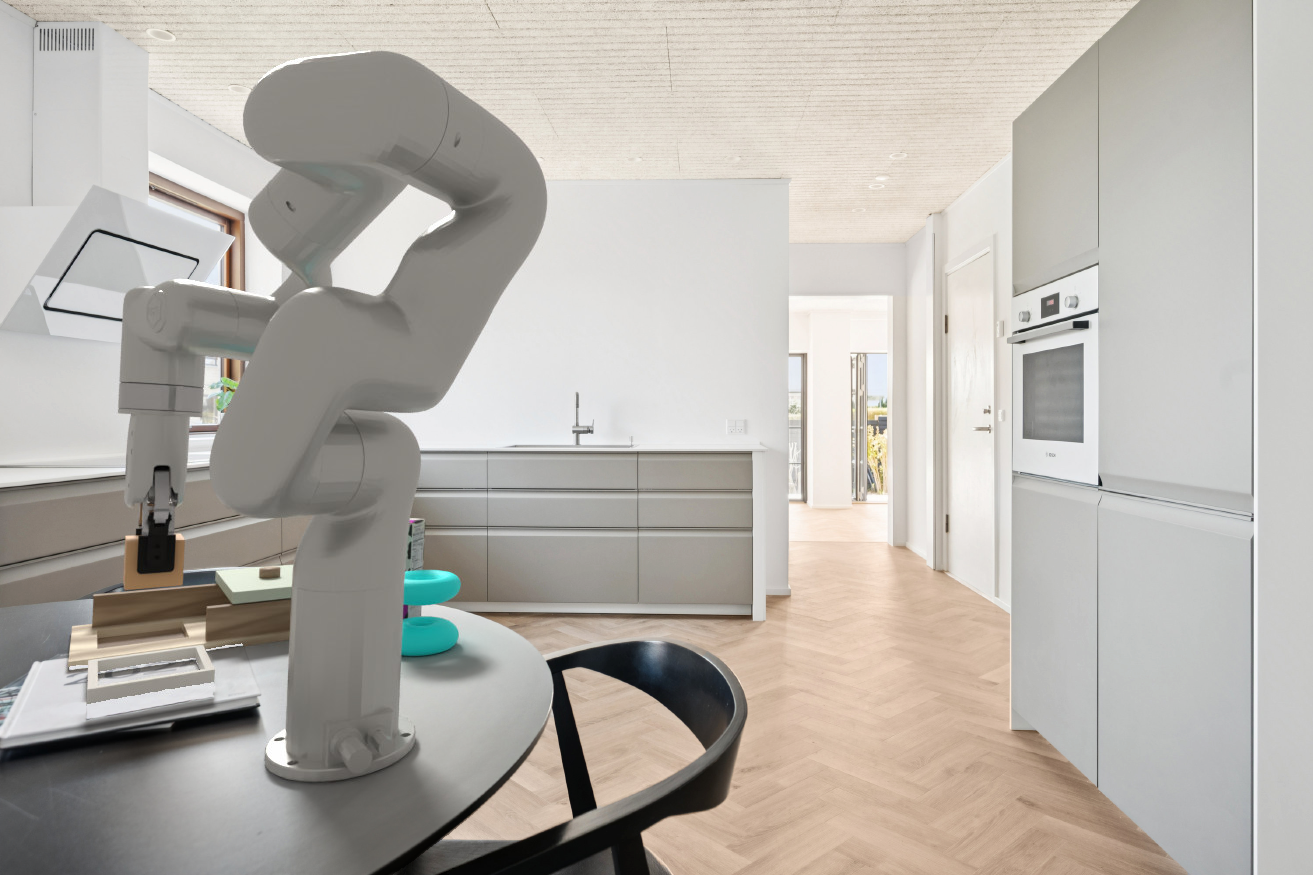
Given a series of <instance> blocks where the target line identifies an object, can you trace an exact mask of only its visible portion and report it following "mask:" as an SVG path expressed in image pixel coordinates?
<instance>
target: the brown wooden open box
mask: <svg viewBox="0 0 1313 875" xmlns="http://www.w3.org/2000/svg"><path fill="white" fill-rule="evenodd" d="M92 596H93V597H92V598H93V599H92V617H91V618H92V621H91V624H80V625H79V624H78V625H72V626H71V636H70V644H69V653H68V661H67V662H68V663H67V664H68V665H67V668H68V667H70V666H76V665H88V660H93V659H100V658H108V657H115V656H122V655H130V654H137V653H144V652H152V651H159V650H166V649H174V648H181V647H188V646H196V645H203V646H204V648H205V650H206V649H211V648H216V647H222V646H225V645H235V644H241V643H242V644H243V647H249V646H255V645H262V644H263V645H264V644H270V643H275V642H276V643H278V642H283V641H289V637H290V613H291V598H285V599H276V600H267V601H257V602H248V603H239V604H232V603H231V601H230V600H229V599H228V597H227V596H226V595H225V593H224V592H223V591H222V589H221V588H220V587H219V585H218V584H217V583H208V584H207V583H206V584H195V585H194V584H193V585H182V586H171V587H159V588H148V589H137V590H126V591H118V592H107V593H96V594H95V593H94V594H93V595H92Z"/></svg>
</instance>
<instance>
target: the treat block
mask: <svg viewBox="0 0 1313 875" xmlns="http://www.w3.org/2000/svg"><path fill="white" fill-rule="evenodd" d="M175 534H176V545H175V565H174V570H173V571H172V572H164V573H151V574H139V573H138V572H137V556H138V536H142V535H136V534H135V535H133V534H132V535H125V537H124V553H123V554H124V556H123V579H122V583H123V590H124V591H134V590H146V589H158V588H170V587H182V586H184V585H183V584H184V583H183V582H184V569H185V568H184V565H185V547H186V546H185V545H186V540H185V538H184V536H183V534H182V533H179V532H178V533H175Z"/></svg>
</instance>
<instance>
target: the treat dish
mask: <svg viewBox="0 0 1313 875" xmlns="http://www.w3.org/2000/svg"><path fill="white" fill-rule="evenodd" d="M190 658H196V661H197V663H198V666H199V668H198V669H196V670H188V671H181V672H177V673H171V674H163V675H162V674H161V675H158V676H157V675H156V676H150V677H149V676H148V677H143V678H139V679H131V680H125V681H118V682H113V683H112V682H111V683H105V684H99V675H98V672H100V671H107V670H112V669H116V668H124V667H130V666H136V665H141V664H149V663H156V662H161V661H176V660H182V659H190ZM211 660H212V659H211V658H210V657H209V654H208V651H207V652H206V650H205V648H204V646H203V645H196V646H188V647H181V648H174V649H166V650H159V651H152V652H144V653H137V654H130V655H122V656H115V657H108V658H100V659H93V660H88V669H87V680H88V681H87V685H86V686H87V687H86V692H87V693H86V705H87V704H91V703H96V702H101V701H106V700H110V699H118V698H122V697H127V696H135V695H141V694H145V693H150V692H158V691H162V690H165V689H175V688H180V687H186V686H192V685H200V684H204V683H211V682H214V683H215V680H216V679H215V678H216V676H215V674H216V669H215V667H214V664H213V663H212V661H211ZM196 661H195V662H196ZM198 666H197V667H198ZM199 669H200V670H199Z"/></svg>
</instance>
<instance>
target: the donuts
mask: <svg viewBox="0 0 1313 875" xmlns="http://www.w3.org/2000/svg"><path fill="white" fill-rule="evenodd" d="M461 587H462V583H461V580H460V578H459V577H458V575H456V574H455V573H453V572H451V571H446V570H438V569H423V570H414V571H405V580H404V600H403V604H405V605H413V606H421V607H422V606H433V605H438V604H439V605H440V604H443V603H445V602H448V601H450V600H451V599H453V598H455V597H456V596H457V594H458V593H459V592H460V590H461ZM458 629H459V628H458V627H457V626H456V625H455V624H454V623H453V622H452V621H450V620H449V619H446V618H444V617H438V616H431V615H430V616H429V615H428V616H427V615H424V616H422V615H421V616H420V617H411V618H406V619H403V625H402V649H401V656H405V657H407V656H408V657H422V656H423V657H424V656H430V655H435V654H439V653H443V652H445V651H448V650H449V649H451V648H452V647H454V646H455V645H456V643H458V639H459V634H460V633H459V630H458Z"/></svg>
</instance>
